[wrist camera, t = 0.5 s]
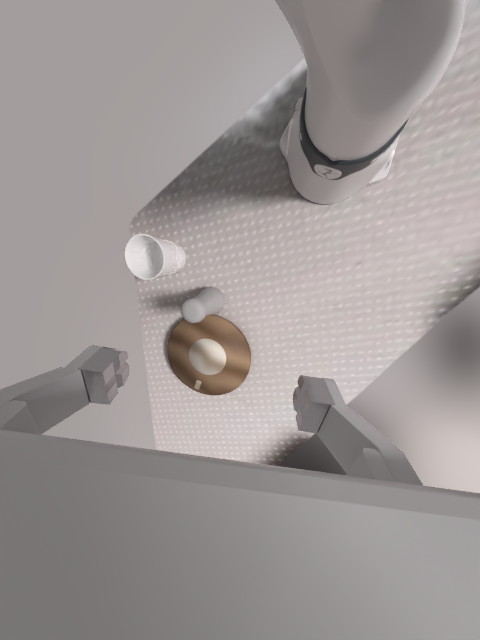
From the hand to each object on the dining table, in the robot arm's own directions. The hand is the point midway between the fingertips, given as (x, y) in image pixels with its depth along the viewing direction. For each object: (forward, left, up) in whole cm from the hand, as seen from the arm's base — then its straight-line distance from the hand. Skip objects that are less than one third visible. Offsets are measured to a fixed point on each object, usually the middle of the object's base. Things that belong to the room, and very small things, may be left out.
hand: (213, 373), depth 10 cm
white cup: (+2, -22, -37) cm, 44 cm away
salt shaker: (+7, -10, -37) cm, 39 cm away
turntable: (+20, -7, -37) cm, 43 cm away
